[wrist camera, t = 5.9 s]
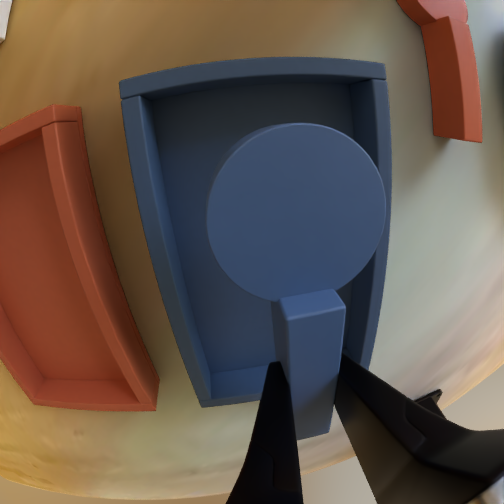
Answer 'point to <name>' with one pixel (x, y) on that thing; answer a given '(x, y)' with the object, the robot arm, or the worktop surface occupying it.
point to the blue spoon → (298, 245)
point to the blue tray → (196, 187)
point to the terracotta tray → (63, 276)
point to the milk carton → (4, 17)
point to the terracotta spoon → (449, 67)
